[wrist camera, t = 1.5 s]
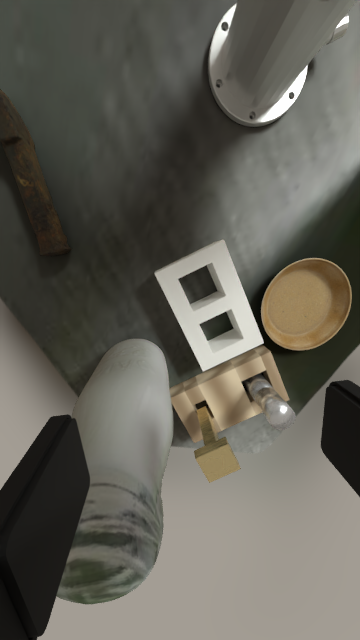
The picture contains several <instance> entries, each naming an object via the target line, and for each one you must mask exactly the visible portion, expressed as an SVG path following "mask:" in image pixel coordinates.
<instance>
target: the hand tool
mask: <svg viewBox="0 0 360 640" xmlns="http://www.w3.org/2000/svg"><path fill="white" fill-rule="evenodd" d="M0 141H1V143H2V145H3V148H4V151H5V154H6V156H7V158H8V160H9V163H10V165H11V168H12V172H13V175H14V178H15V180H16V183H17V186H18V189H19V192H20V195H21V197H22V200H23V203H24V206H25V208H26V211H27V214H28V216H29V219H30V222H31V225H32V227H33V229H34V232H35V235H36V237H37V240H38V243H39V247H40V252H39V255H40V256H56V255H61V254H65V253H67V252H69V251H71V250H72V248H71V247H70V246H68V245H67V237H66V235H64V233H63V231H62V227H61V224H60V220H59V218H58V214H57V212H56V210H55V208H54V206H53V202H52V197H51V196H50V193H49V190H48V188H47V185H46V182H45V179H44V177H43V174H42V171H41V168H40V165H39V162H38V159H37V156H36V154H35V145H34V143H33V140H32V138H31V136H30V134H29V131H28V129H27V127H26V126H25V124H24V122H23V120H22V119H21V117H20V115H19V113H18V112H17V110H16V108H15V107H14V105H13V104H12V102H11V101H10V99H9V98H8V97H7V96H6V94H5V93H4V92H3V91H2V90H1V89H0Z"/></svg>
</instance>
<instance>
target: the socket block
mask: <svg viewBox="0 0 360 640" xmlns="http://www.w3.org/2000/svg"><path fill="white" fill-rule="evenodd" d="M261 372H263V374H264V376H265V379H266V380H267V381H268V382H269V384H270V385H271V386H272V387H273V388H274V389H275V390H276V392H277V393H278V394H279V395H280V396H281V397H282V398H283V400H284V401H285V402H286V401H288V400H289V398H288V395H287V393H286V390H285V387H284V385H283V382H282V380H281V377H280V374H279V372H278V369H277V367H276V364H275V362H274V359H273V356H272V354H271V351H269V350H268V349H267V348H266V347H265V346H264V345H261V346H259V347H257V348H255V349H252V350H250V351H248V352H246V353H244V354H242V355H240V356H237V357H235V358H233V359H231V360H229V361H227V362H225V363H222V364H220V365H218V366H216V367H214V368H212V369H210V370H208V371H205V372H203V373H201V374H199V375H197V376H195V377H193V378H190V379H188V380H186V381H184V382H182V383H180V384H178V385H175V386H173V387H171V388H169V390H170V396H171V403H172V405H173V406H174V408H175V410H176V412H177V413H178V415H179V417H180V419H181V420H182V422H183V424H184V426H185V427H186V429H187V431H188V433H189V435H190V436H191V438H192V440H193V442H194V443H196V442H198V441H200V440H202V439H203V436H202V432H201V427H200V423H199V419H198V415H197V411H196V410H198V409H197V407H196V405H195V404H197V403H199V402H201V401H204V400H206V402H207V404H208V406H209V407H210V408H207V410H208V412H209V414H210V416H211V418H212V420H213V422H214V425H215V429H216V432H217V433H218V432H220V431H222V430H224V429H226V428H229V427H231V426H233V425H235V424H237V423H240V422H242V421H244V420H246V419H248V418H251V417H253V416H255V415H257V414H259V413H261V412H262V411H261V409H260V408H259V406H258V405H257V403H256V402H255V400H254V399H253V397H252V396H251V394H250V393H249V391H247V392H245V389H244V387H243V385H242V383H241V381H244V380H246V379H248V378H250V377H252V376H254V375H257V374H259V373H261Z"/></svg>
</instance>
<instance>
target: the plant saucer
mask: <svg viewBox="0 0 360 640" xmlns="http://www.w3.org/2000/svg"><path fill="white" fill-rule="evenodd" d="M351 298H352V293H351V286H350V283H349V280H348V278H347V276H346V275H345V273H344V272H343V271H342V269H341V268H340V267H338V266H337V265H336V264H334V263H332V262H330V261H328V260H324V259H320V258H308V259H303V260H300V261H297V262H295V263H292V264H290V265H289V266H287V267H285V268H284V269H283V270H281V271H280V272H279V273H278V274H277V275H276V276H275V277H274V279H273V280H272V281H271V283H270V284H269V286H268V288H267V290H266V292H265V294H264V297H263V301H262V306H261V318H262V323H263V326H264V329H265V331H266V333H267V334H268V336H269V337H270V338H271V339H272V340H273V341H274V342H275V343H277V344H278V345H280V346H282V347H284V348H287V349H290V350H308V349H312V348H315V347H318V346H320V345H321V344H323V343H325V342H326V341H328V340H329V339H331V338H332V337H333V336H334V335H335V334H336V333H337V332H338V331H339V329H340V328H341V327H342V325H343V324H344V322H345V320H346V319H347V316H348V314H349V311H350V307H351Z"/></svg>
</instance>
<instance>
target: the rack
mask: <svg viewBox="0 0 360 640" xmlns="http://www.w3.org/2000/svg"><path fill="white" fill-rule="evenodd" d="M206 265H207V267H208V270H209V272H210V275H211V277H212V279H213V282H214V284H215V286H216V289H217V292H214V293H212V294H210V295H208V296H206V297H204V298H202V299H200V300H198V301H196V302H194V303H192V304H190V303H189V301H188V299H187V297H186V295H185V293H184V291H183V289H182V286H181V284H180V282H179V280H178V279H179V278H181V277H183V276H185V275H187V274H189V273H191V272H193V271H195V270H197V269H200V268H202V267H204V266H206ZM154 274H155V276H156V278H157V280H158V282H159V284H160V286H161V288H162V290H163V292H164V294H165V296H166V298H167V300H168V302H169V304H170V306H171V308H172V310H173V312H174V314H175V316H176V318H177V320H178V322H179V324H180V326H181V328H182V330H183V332H184V334H185V336H186V338H187V340H188V342H189V344H190V346H191V348H192V350H193V352H194V354H195V356H196V358H197V360H198V362H199V364H200V367H201V369H202V371H205V370H207V369H210V368H212V367H214V366H216V365H218V364H220V363H222V362H225V361H227V360H229V359H231V358H233V357H235V356H237V355H239V354H242V353H244V352H246V351H248V350H250V349H252V348H254V347H257V346H259V345H261V344H263V343H264V341H263V339H262V336H261V334H260V331H259V329H258V326H257V323H256V321H255V318H254V316H253V313H252V311H251V308H250V306H249V303H248V300H247V298H246V295H245V293H244V290H243V288H242V285H241V283H240V280H239V277H238V275H237V272H236V270H235V267H234V265H233V262H232V260H231V257H230V254H229V252H228V249H227V247H226V244H225V242H224V239H223V240H220V241H216V242H214V243H212V244H210V245H207V246H205V247H203V248H201V249H199V250H197V251H195V252H193V253H191V254H189V255H187V256H185V257H183V258H181V259H179V260H177V261H175V262H173V263H171V264H169V265H167V266H165V267H163V268H161V269H159V270H157V271H155V273H154ZM224 312H227V314H228V317H229V319H230V322H231V324H232V326H233V329H232V330H230V331H228V332H225V333H223V334H221V335H219V336H217V337H215V338H213V339H211V340H209V341H207V340H206V337H205V335H204V333H203V331H202V329H201V327H200V325H199V324H201V323H203V322H205V321H207V320H209V319H211V318H213V317H215V316H217V315H220V314H222V313H224Z"/></svg>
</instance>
